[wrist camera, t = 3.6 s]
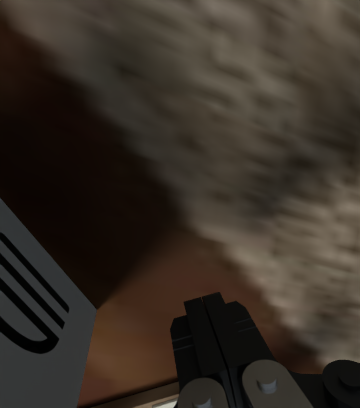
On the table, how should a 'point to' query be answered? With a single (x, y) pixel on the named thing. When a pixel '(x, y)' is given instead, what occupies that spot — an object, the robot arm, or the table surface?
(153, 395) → the board
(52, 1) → the table surface
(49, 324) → the icon cube
